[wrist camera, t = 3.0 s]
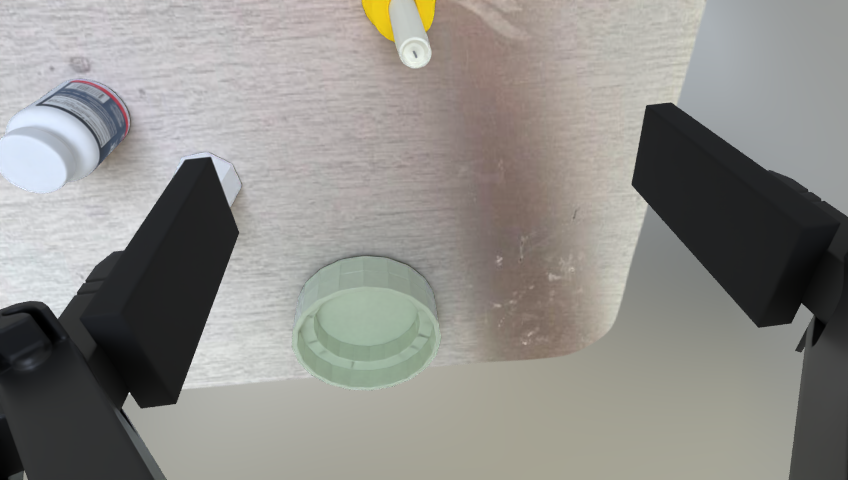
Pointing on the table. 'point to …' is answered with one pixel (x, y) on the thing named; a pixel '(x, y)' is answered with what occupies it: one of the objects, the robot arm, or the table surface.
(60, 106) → the pill bottle
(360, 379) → the bowl
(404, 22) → the candle
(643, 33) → the table surface
